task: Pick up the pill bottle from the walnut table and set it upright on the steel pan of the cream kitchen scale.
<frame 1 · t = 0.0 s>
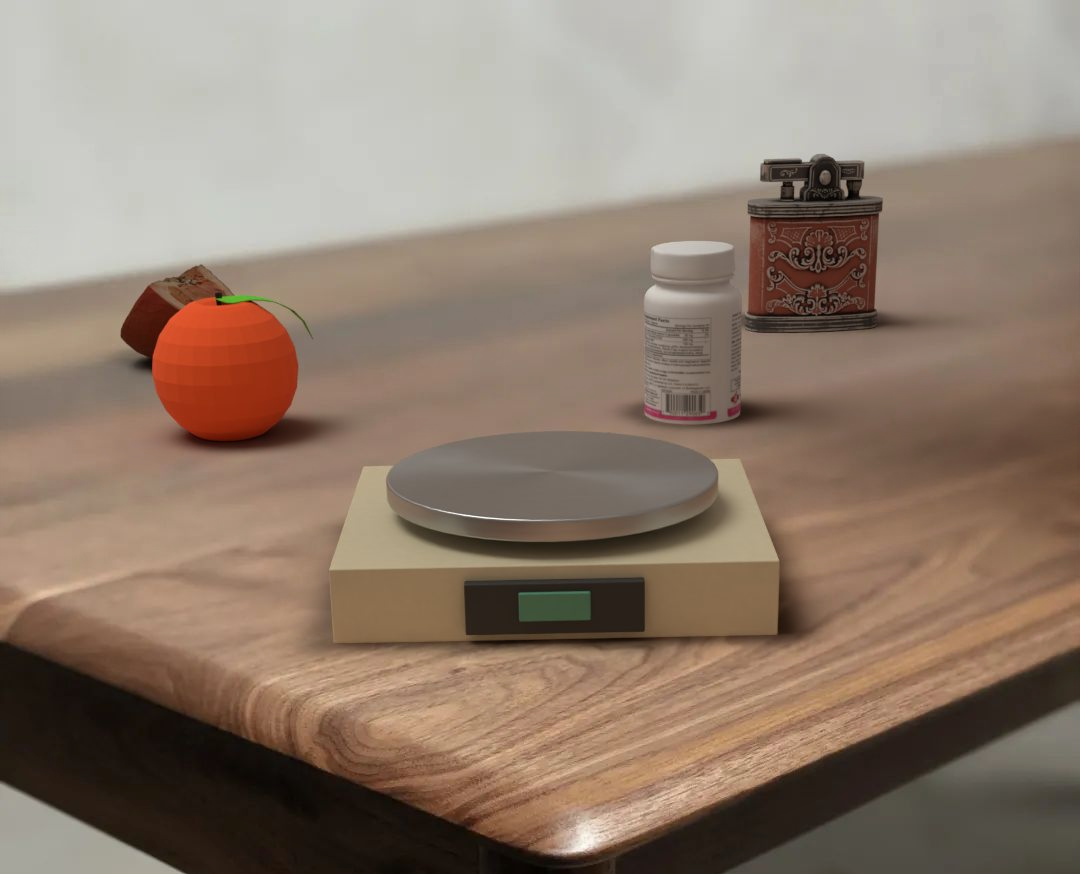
clementine: (242, 443, 90), on the table
lighter: (810, 329, 112), on the table
scale: (554, 586, 68), on the table
pan: (552, 482, 67), point 4 cm above the table, slide at 0.0 cm
pill bottle: (691, 424, 91), on the table
brown block: (188, 362, 107), on the table
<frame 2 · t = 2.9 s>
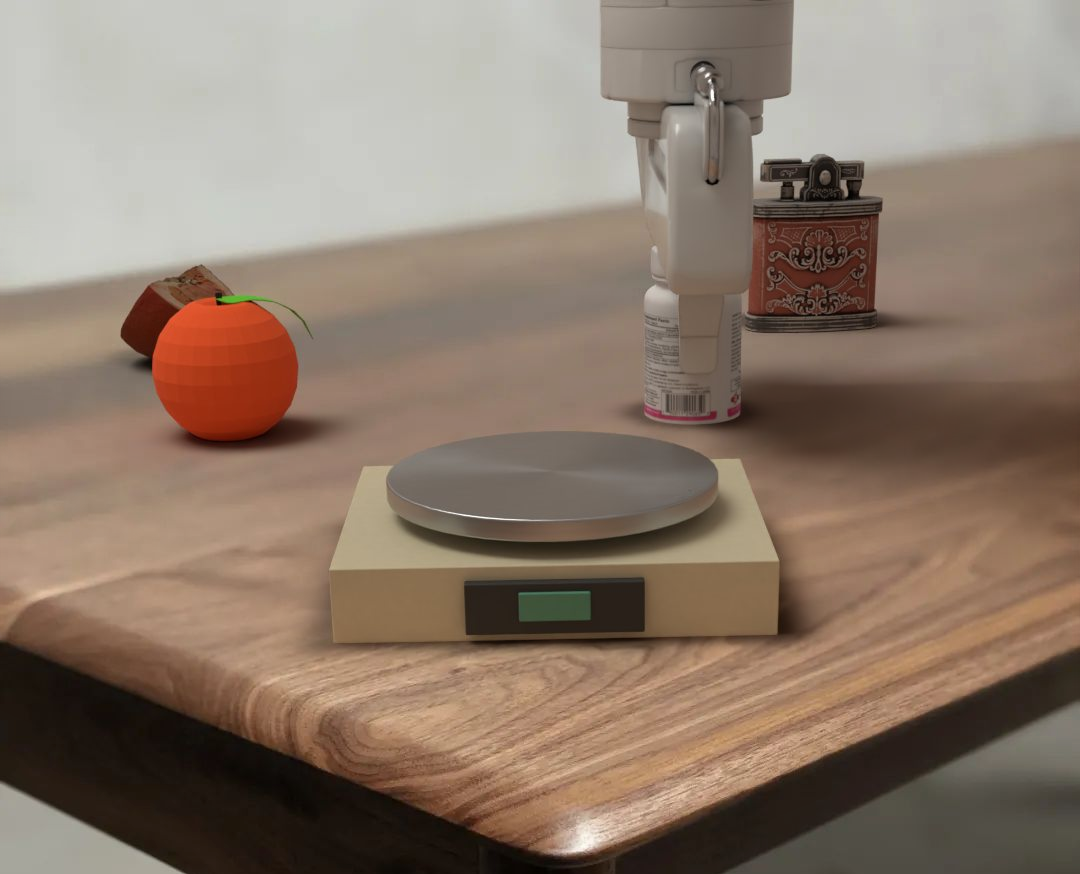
hand: (692, 357, 90), 3 cm above the table, tool pointing down, fingers closed on pill bottle, 5 cm apart
pill bottle: (691, 424, 91), on the table, touching gripper
everything else where it was.
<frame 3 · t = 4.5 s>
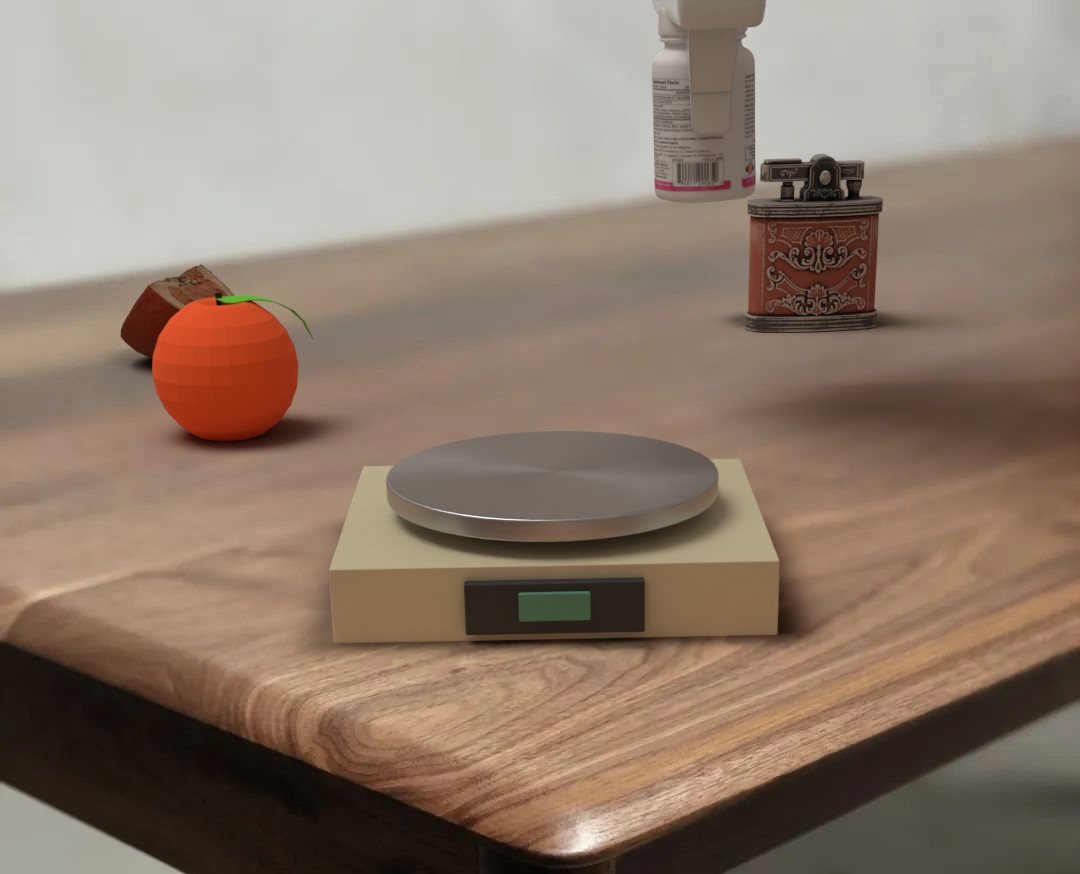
hand: (704, 127, 86), 14 cm above the table, tool pointing down, fingers closed on pill bottle, 5 cm apart
pill bottle: (704, 201, 87), point 11 cm above the table, touching gripper
everything else where it was.
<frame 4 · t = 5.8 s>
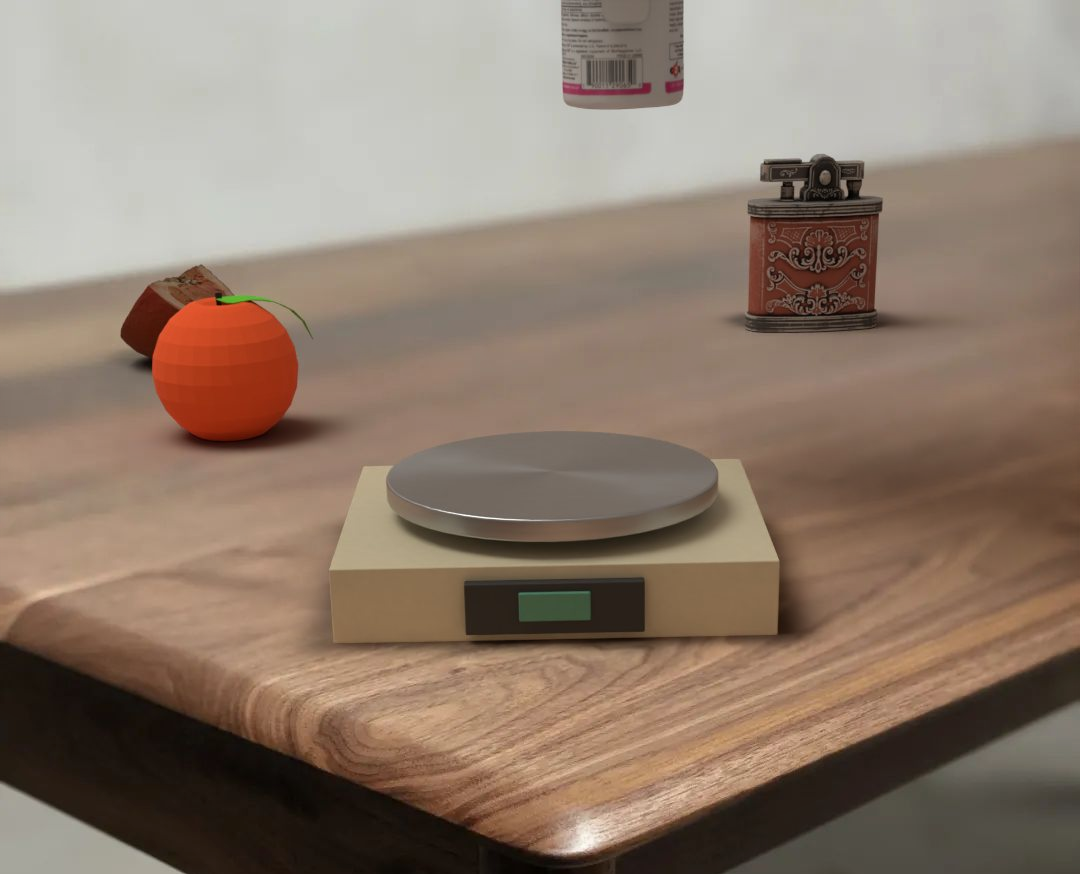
hand: (623, 20, 71), 19 cm above the table, tool pointing down, fingers closed on pill bottle, 5 cm apart
pill bottle: (622, 110, 72), point 16 cm above the table, touching gripper
everything else where it was.
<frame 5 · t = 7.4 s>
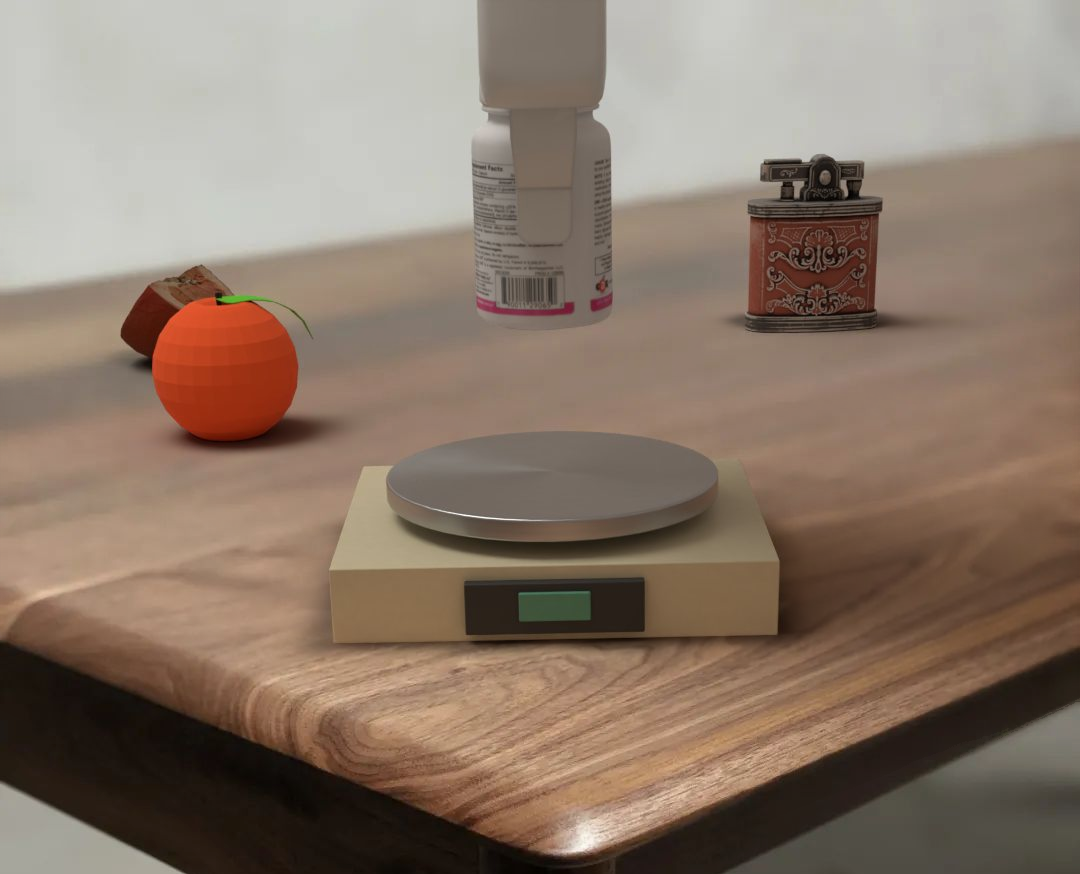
hand: (544, 228, 63), 13 cm above the table, tool pointing down, fingers closed on pill bottle, 5 cm apart
pill bottle: (543, 324, 64), point 10 cm above the table, touching gripper
everything else where it was.
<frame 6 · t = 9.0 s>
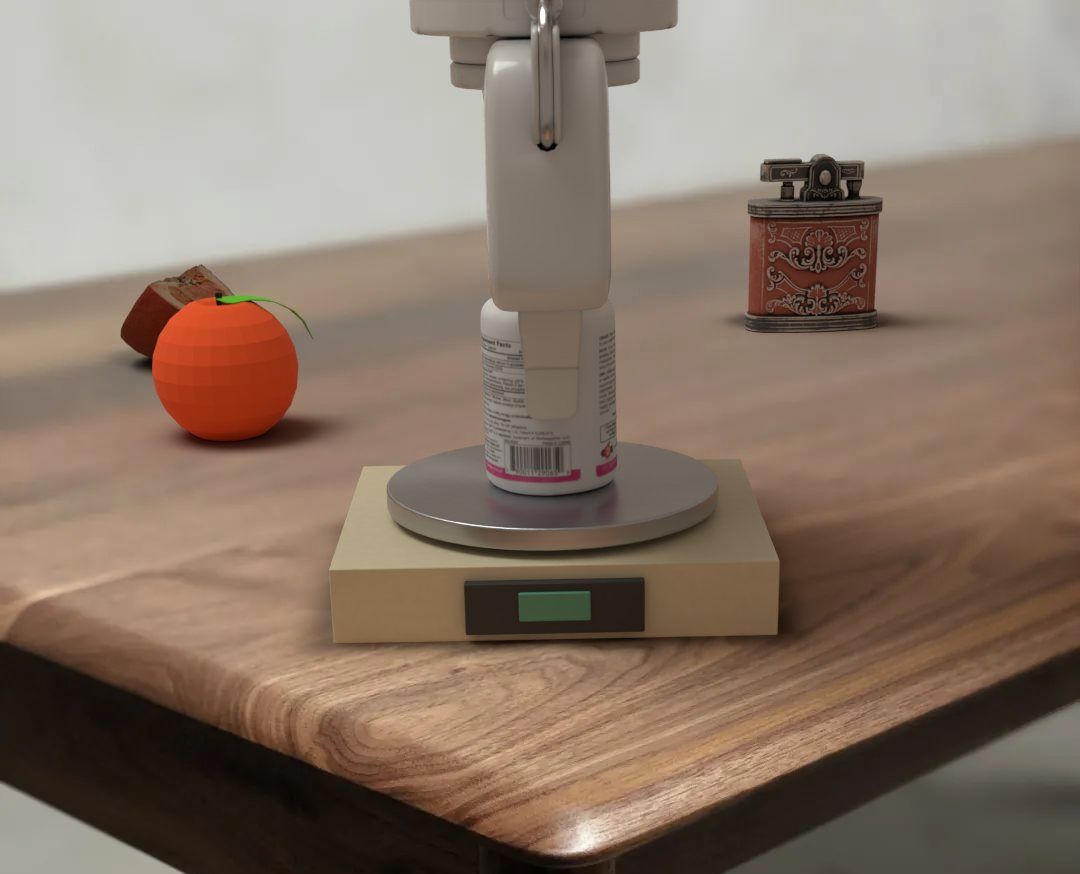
hand: (551, 394, 65), 7 cm above the table, tool pointing down, fingers closed on pill bottle, 5 cm apart
pan: (552, 490, 67), point 4 cm above the table, slide at -0.3 cm, touching pill bottle
pill bottle: (551, 485, 67), point 4 cm above the table, touching gripper, pan
everything else where it was.
when the fingers open (7 cm above the table, at t = 9.0 s): pill bottle stays where it is, resting on pan.
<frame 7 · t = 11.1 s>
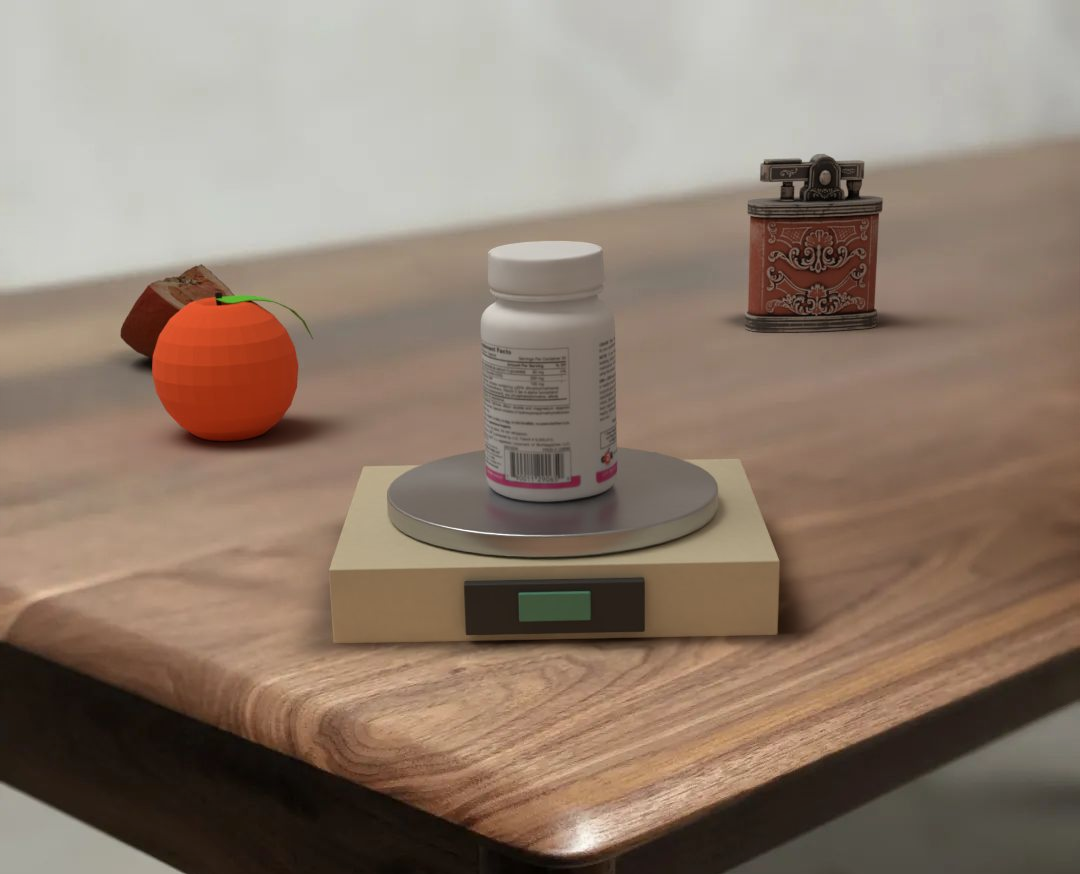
pill bottle: (551, 491, 67), point 4 cm above the table, touching pan
everything else where it was.
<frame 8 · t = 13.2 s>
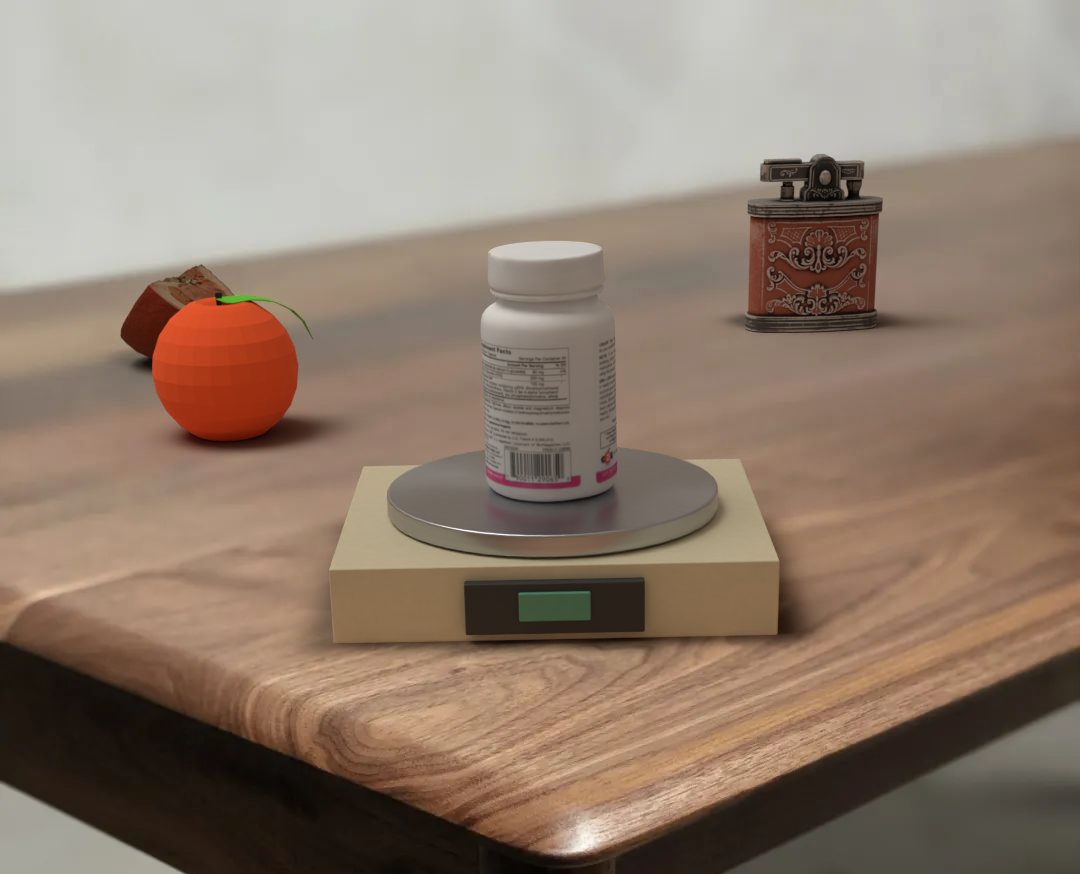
nothing on the table moved.
at the end: pill bottle inside the target area on the scale (0.0 cm from its centre), point 3.7 cm above the scale's base; pill bottle tilted 0°; the gripper is holding nothing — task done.
